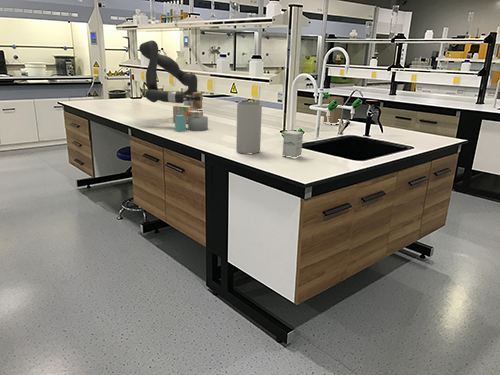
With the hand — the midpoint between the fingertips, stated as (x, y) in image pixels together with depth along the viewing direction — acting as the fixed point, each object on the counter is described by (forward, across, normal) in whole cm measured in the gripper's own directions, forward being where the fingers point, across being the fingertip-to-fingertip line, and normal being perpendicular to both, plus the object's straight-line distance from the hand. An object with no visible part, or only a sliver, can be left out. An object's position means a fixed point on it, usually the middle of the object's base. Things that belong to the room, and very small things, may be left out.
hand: (201, 98), depth 257 cm
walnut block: (-3, 0, +6) cm, 7 cm away
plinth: (-2, 0, +20) cm, 21 cm away
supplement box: (+62, -59, +20) cm, 89 cm away
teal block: (-12, -9, +20) cm, 25 cm away
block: (+89, +50, +20) cm, 104 cm away
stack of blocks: (-15, +20, +21) cm, 32 cm away
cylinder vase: (+39, -54, +20) cm, 70 cm away
